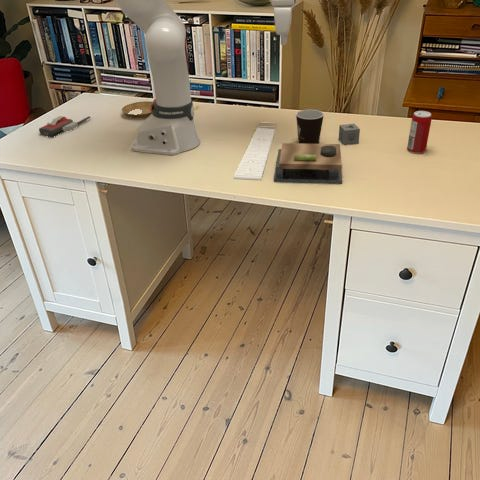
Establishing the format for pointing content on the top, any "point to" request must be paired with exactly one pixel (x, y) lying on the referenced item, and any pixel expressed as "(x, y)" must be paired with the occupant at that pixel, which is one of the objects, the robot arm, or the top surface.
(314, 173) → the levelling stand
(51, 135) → the toy chainsaw
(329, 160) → the levelling board
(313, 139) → the coffee mug
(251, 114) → the top surface
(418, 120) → the soda can
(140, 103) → the plant saucer
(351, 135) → the dice cube
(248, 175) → the keyboard
